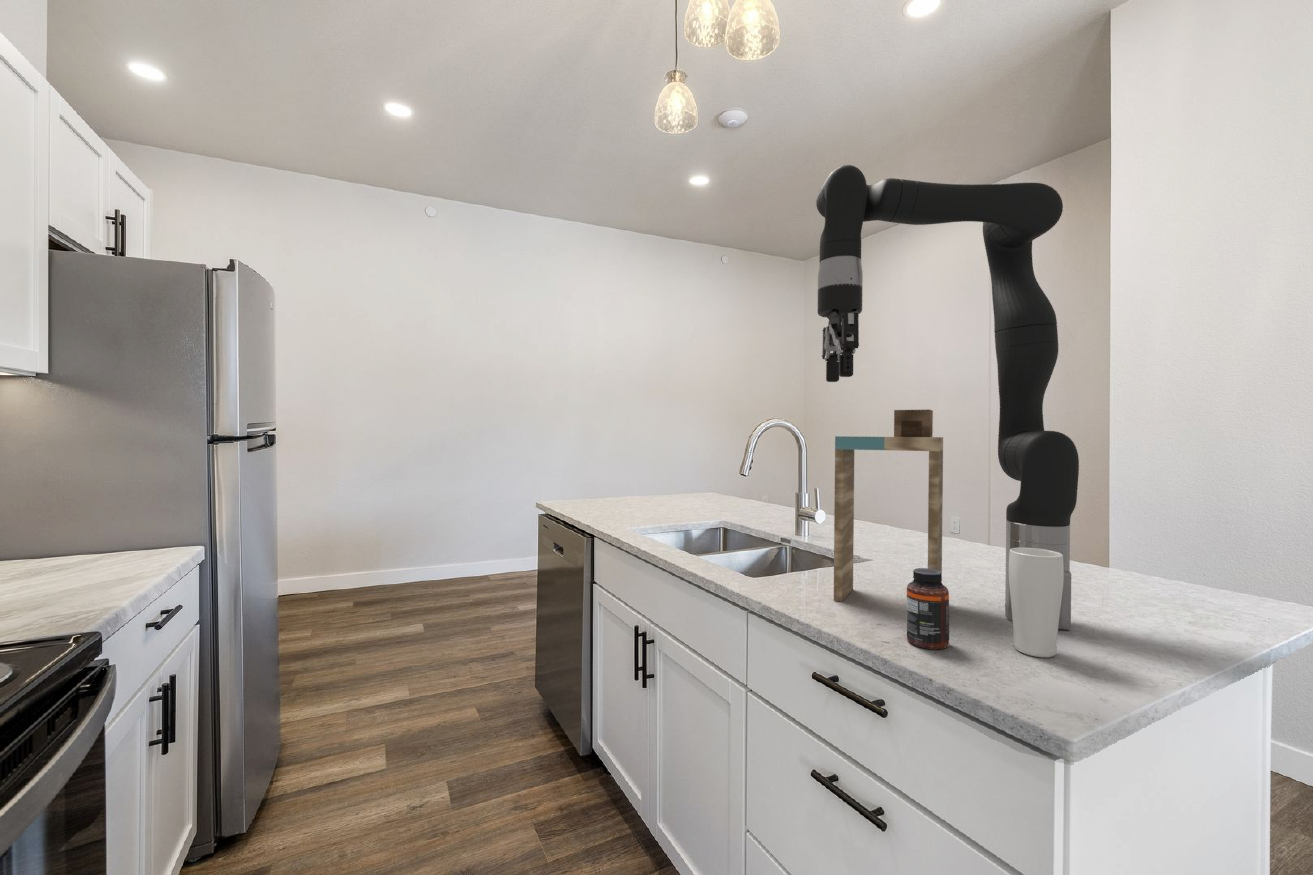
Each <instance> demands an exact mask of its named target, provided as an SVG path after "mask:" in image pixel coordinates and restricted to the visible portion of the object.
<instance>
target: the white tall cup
mask: <svg viewBox="0 0 1313 875" xmlns="http://www.w3.org/2000/svg"><path fill="white" fill-rule="evenodd" d="M1063 579H1064V566H1063V555H1062V554H1061V553H1058V552H1055V551H1050V550H1044V549H1036V548H1012V549H1010V553H1009V586H1010V597H1011V608H1012V620H1013V621H1012V629H1013V630H1012V631H1013V632H1012V634H1013V639H1012V640H1013V647H1014V648H1015V649H1016V651H1018V652H1020V653H1022V654H1025V655H1027V656H1031V657H1035V658H1042V659H1044V658H1046V659H1047V658H1048V659H1049V658H1053V657H1054V656H1056V655H1057V649H1058V634H1059V629H1058V625H1059V617H1060V608H1061V600H1062V591H1063Z"/></svg>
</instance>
